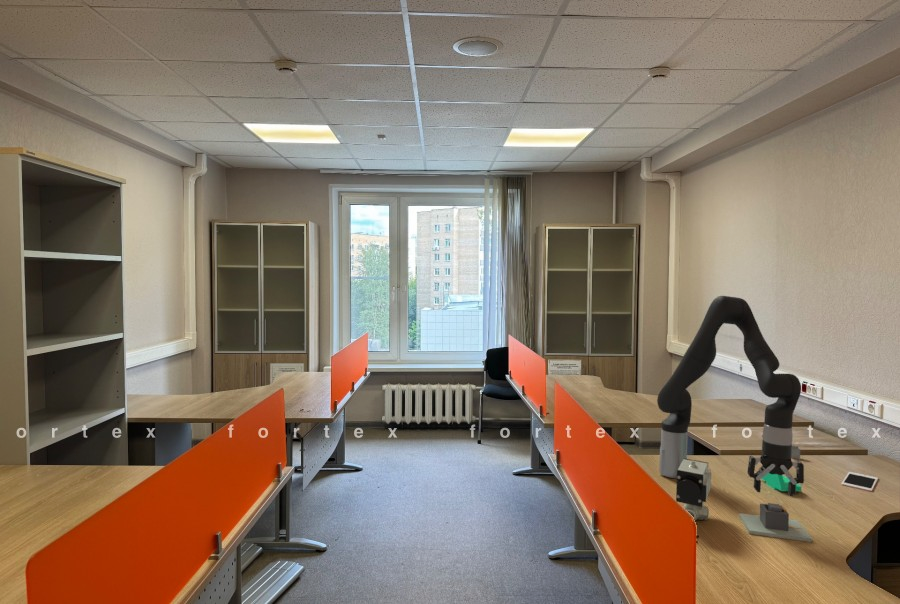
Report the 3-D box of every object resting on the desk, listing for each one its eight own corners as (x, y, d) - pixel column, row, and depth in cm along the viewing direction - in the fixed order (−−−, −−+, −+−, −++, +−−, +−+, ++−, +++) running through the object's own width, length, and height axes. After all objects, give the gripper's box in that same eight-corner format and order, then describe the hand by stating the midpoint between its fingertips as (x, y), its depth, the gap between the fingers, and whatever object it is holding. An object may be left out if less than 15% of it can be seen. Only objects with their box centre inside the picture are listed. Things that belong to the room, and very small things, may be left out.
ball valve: (705, 532, 156) (707, 473, 155) (674, 525, 160) (676, 467, 160) (712, 510, 171) (713, 456, 170) (683, 504, 176) (685, 451, 175)
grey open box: (765, 528, 157) (765, 510, 157) (759, 519, 163) (760, 502, 162) (788, 530, 155) (788, 512, 155) (782, 521, 161) (782, 504, 161)
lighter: (799, 458, 224) (800, 439, 223) (800, 459, 222) (800, 440, 222) (780, 455, 227) (780, 436, 227) (780, 456, 226) (780, 437, 225)
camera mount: (802, 494, 186) (803, 465, 185) (780, 494, 186) (781, 465, 185) (781, 481, 198) (782, 454, 197) (760, 481, 198) (761, 453, 197)
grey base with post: (749, 533, 155) (750, 510, 155) (739, 516, 167) (740, 494, 167) (812, 542, 151) (813, 517, 151) (797, 523, 162) (798, 501, 162)
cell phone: (878, 480, 201) (878, 477, 201) (871, 493, 188) (871, 490, 188) (849, 473, 207) (849, 471, 207) (841, 486, 194) (841, 483, 194)
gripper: (753, 441, 156) (750, 495, 157) (809, 446, 152) (805, 502, 153) (747, 434, 163) (744, 485, 164) (800, 439, 159) (797, 492, 160)
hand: (774, 493), depth 159 cm, fingers open, 8 cm apart
